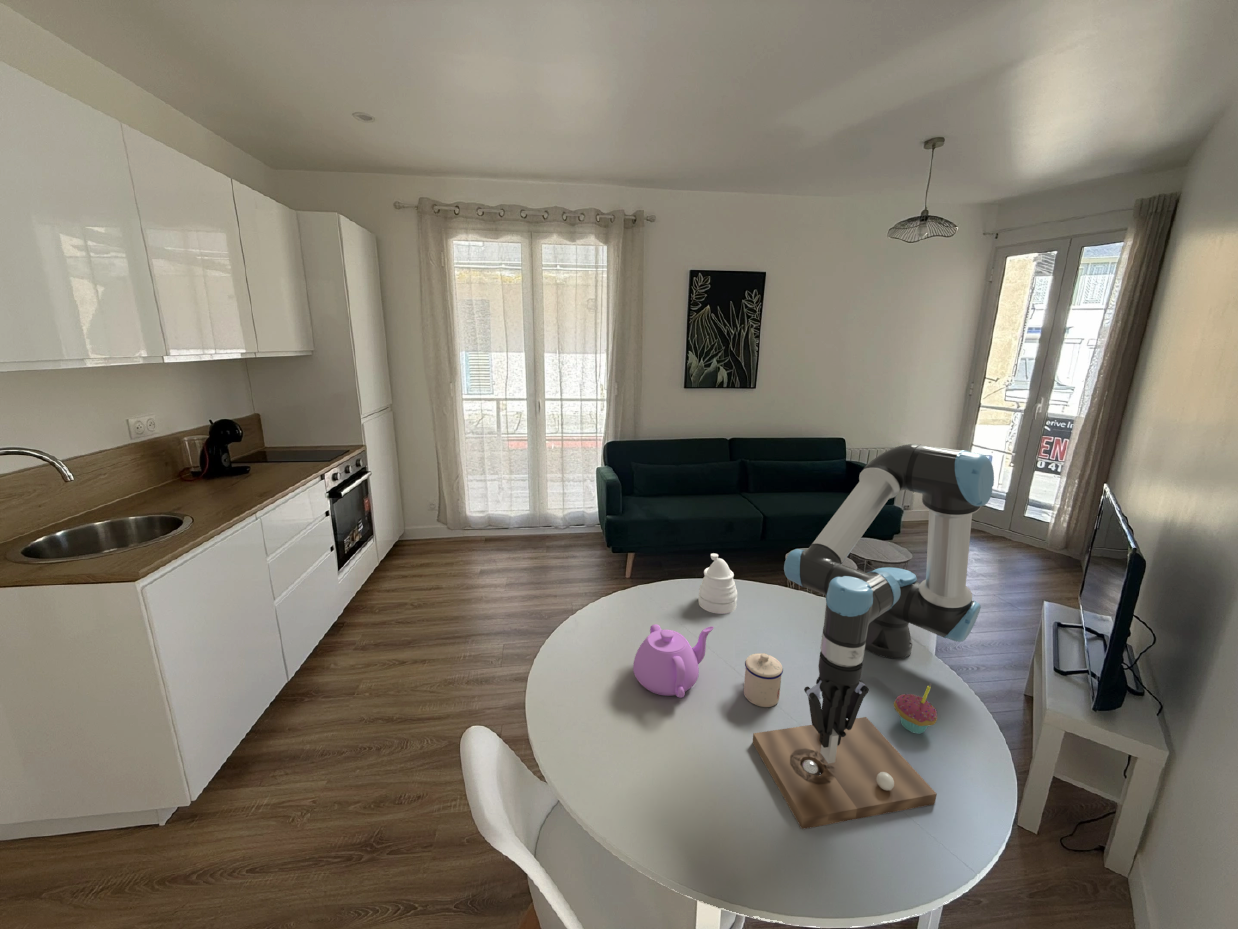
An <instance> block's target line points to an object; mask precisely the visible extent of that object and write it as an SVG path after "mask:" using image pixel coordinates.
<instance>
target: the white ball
mask: <svg viewBox="0 0 1238 929" xmlns="http://www.w3.org/2000/svg"><path fill="white" fill-rule="evenodd" d="M876 780H877V783H878V785H879V786H880V787H881V788H882V789H883V790H887V791H888V790H891V789H892V788H893V787H894V780H893V778H892V777H891V776H890V775H889V774H888V773H886V772H880V773H879V774H878V775H877V778H876Z"/></svg>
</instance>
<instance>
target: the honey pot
mask: <svg viewBox="0 0 1238 929" xmlns="http://www.w3.org/2000/svg"><path fill="white" fill-rule="evenodd" d="M710 558H711V560H712V561H713V562H712V563H711V564H710V566H709V567H706V568H705V569H704V570H703V574H704V577H703V578H702V581H701V584H700V585H699V589H698V590H699V591H698V600H697V601H698V605H699V606H700V607H701V609H703V610H704V611H707V612H709V613H713V614H719V615H720V614H723V615H724V614H729V613H733V612H734V611H735V610H736V609H737V603H738V590H737V587H736V582H735V579H734V576H735V574H734V571H732V570H731V569H730V567H729V565H728V563H727V562H726V561H725V560H724V559H723V558H720V557H719V554H718V553H714V552H713V553H710Z"/></svg>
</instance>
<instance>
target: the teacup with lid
mask: <svg viewBox="0 0 1238 929" xmlns="http://www.w3.org/2000/svg"><path fill="white" fill-rule="evenodd" d="M744 666H745V668H744V684H743V695H744V696H745V699H747V701H749V702H750V703H752V704H753V705H755V706H757V707H761V708H770V707H771V708H772V707H774V706H776V705H777V704H778V703H779V701H780V694H781V693H780V692H781V685H782V684H781V683H782V676H783V675H782V674H783V673H784V668H783V665H782V663H781V661H779V660H778V659H777V658H776V657H774V656H772V655H770V654H767V653H753V654H749V656H747V657H746V659H745V661H744Z"/></svg>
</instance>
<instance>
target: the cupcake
mask: <svg viewBox="0 0 1238 929" xmlns="http://www.w3.org/2000/svg"><path fill="white" fill-rule="evenodd" d="M931 686H932V683H929V685H927V686H926V689H925V691H924V694H923V696H920V695H917V694H911V693H910V694H909V693H904V694H899V695H898V696H897V697H895V700H894V701H893V707H894V710H895V712H897V713H898V715H899V717H900V723H901V725H902V727H903V728H904V729H906V730H907V731H909V732H910V733H913V734H924V732H925V731H926V730H927V728H928V727H929V726H933V725H935V724H936V723H937V721H938V711H937V709H936V707H935V706H934V705H933V704H932V703H931V702H930V701H929V700H927V698H928V697H929V696H928V695H929V693H930V691H931V688H932V687H931Z"/></svg>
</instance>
